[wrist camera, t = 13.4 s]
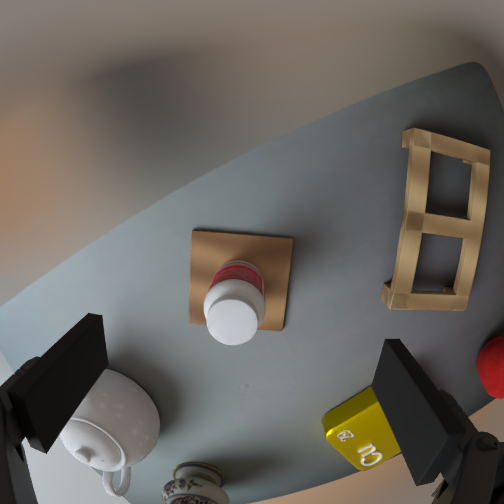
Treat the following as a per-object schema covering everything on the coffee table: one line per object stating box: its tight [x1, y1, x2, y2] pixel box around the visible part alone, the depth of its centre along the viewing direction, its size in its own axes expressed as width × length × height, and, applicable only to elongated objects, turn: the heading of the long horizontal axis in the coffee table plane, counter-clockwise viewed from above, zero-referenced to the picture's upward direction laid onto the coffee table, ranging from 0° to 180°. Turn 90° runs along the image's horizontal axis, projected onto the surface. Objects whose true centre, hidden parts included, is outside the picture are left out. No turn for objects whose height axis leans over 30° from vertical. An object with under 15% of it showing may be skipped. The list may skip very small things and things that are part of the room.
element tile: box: [322, 386, 401, 471], centre depth 42 cm, size 15×15×5 cm
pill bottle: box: [204, 260, 266, 345], centre depth 34 cm, size 6×6×11 cm
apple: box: [476, 336, 504, 399], centre depth 37 cm, size 10×10×11 cm
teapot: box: [59, 369, 160, 497], centre depth 38 cm, size 19×18×14 cm
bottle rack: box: [381, 128, 490, 310], centre depth 36 cm, size 22×13×4 cm, turn 175°
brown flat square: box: [189, 230, 293, 331], centre depth 39 cm, size 12×12×1 cm
